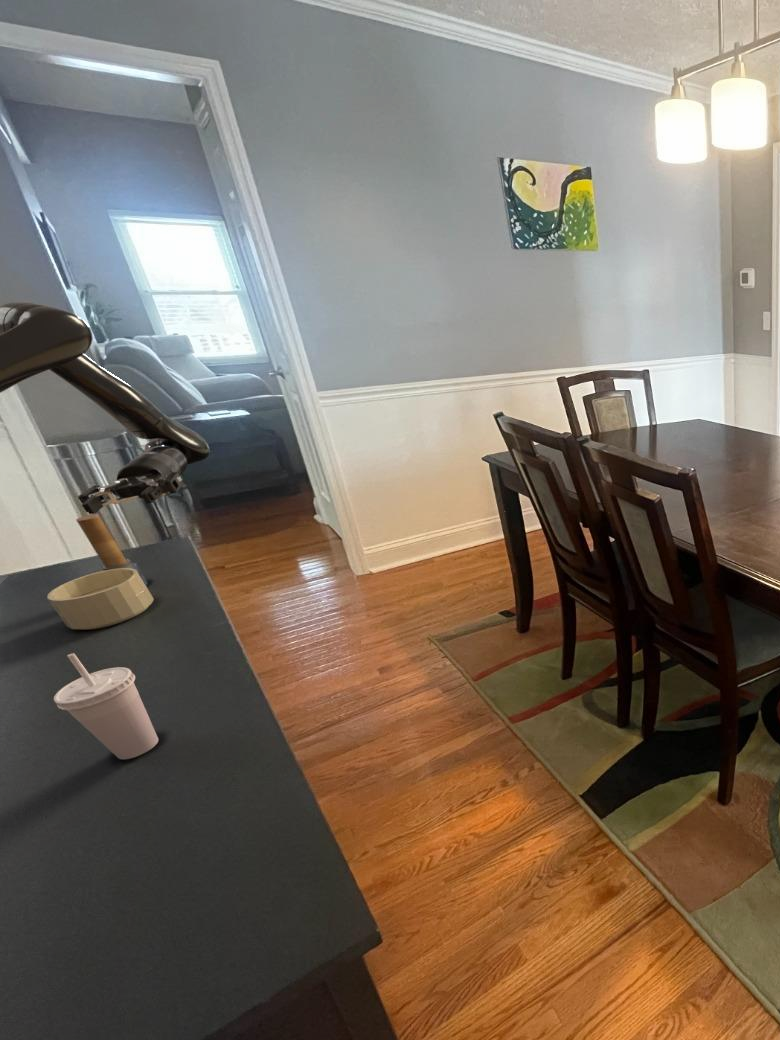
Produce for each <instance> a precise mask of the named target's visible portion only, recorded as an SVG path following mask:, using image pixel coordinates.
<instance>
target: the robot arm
mask: <svg viewBox="0 0 780 1040" xmlns="http://www.w3.org/2000/svg"><path fill="white" fill-rule="evenodd" d="M92 343H93V332H92V329H91V327H90V326H89V324H88V323H87V322H86V321H85V320H84V319H82V318H81V317H79V316H78V315H76V314H74V313H72V312H69V311H68V310H64V309H61V308H57V307H53V306H48V305H43V304H38V303H33V302H23V301H13V302H6V303H4V304H1V305H0V394H1V393H3V392H5V391H6V390H8V389H10V388H12V387H13V386H15V385H18V384H19V383H21V382H23V381H25V380H27V379H29V378H32V377H34V376H36V375H39V374H41V373H44V372H47V371H50V372H52V373H53V374H55V375H56V376H58V377H59V378H61V379H62V380H63V381H65V382H66V383H68V384H69V385H71V386H72V387H74V388H75V389H76V390H77V391H78V392H80V393H81V394H82V395H83V396H86V397H87V399H89V400H91V401H92V402H93V403H95V404H96V405H97V406H98V407H99V408H101V410H102V411H104V412H105V413H107V414H108V415H109V416H110V417H111V418H113V419H114V420H115V421H116V422H117V423H119V425H121V426H122V427H123V428H124V429H126V430H127V431H128V432H129V433H130V434H132V435H133V436H134V437H136V438H139V439H142V440H150V441H148V442H146V444H145V445H144V451H143V453H142V454H140V455H138V456H135V457H134V458H133V459H132V460H130V461H129V462H128V463H126V464H125V465H124V466H123V467H121V468H120V469H119V470H118V472H117V475H116V480H115V481H114V482H113V483H110V484H107V485H104V486H101V485H100V484H97V485H96V484H94V485H93V486H91V487H89V488H88V489H86V490H84V492H81V493H80V494H79V495H78V496H77V498H78V500H79V501H80V503H81V507H82V508H83V509H84V511H85V512H86V513H88V515H91V514H97V513H98V512H99V511H100V510H101V509H103V508H104V507H105V506H107V505H118V504H120V503H123V502H125V501H128V500H134V499H136V498H139V499H143V501H144V502H145V503H146V504H147V505H148V504H152V503H153V504H154V502H156V501H157V500H158V498H161V497H164V496H166V493H169V494H177V493H178V492H179V491H180V489H181V488H182V487H183V485H184V484H185V482H184V481H183V479H182V477H181V475H183V473H185V471H186V470H187V468H188V466H189V465H191V464H192V465H193V464H195V463H198V462H201V461H204V460H206V459H208V457H209V455H210V446H209V444H208V443H207V441H206V439H205V438H203V437H202V436H201V435H200V434H199V433H197V432H196V431H194V430H193V429H191V428H189V427H187V426H185V425H183V424H181V423H179V422H178V421H177V420H174V419H173V418H171V417H169V416H167V415H166V414H165V413H164V412H162V411H161V410H160V409H159V408H158V407H157V406H156V405H154V404H153V403H152V402H151V401H150V400H149V398H147V397H146V396H145V395H144V394H142V393H141V392H139V391H138V390H136V388H134V387H132V386H131V385H129V384H128V383H126V382H125V381H123V380H122V379H120V378H119V377H117V376H115V375H114V374H112V373H111V372H109V371H107V369H105V368H103V367H101V366H100V365H99V364H98V363H96V362H95V361H93V360H92V359H91V358H90V357H88V356H87V355H86V353H87V352H88V351H89V350H90V348H91V347H92ZM115 496H116V497H118V498H116V497H115Z"/></svg>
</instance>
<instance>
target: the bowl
mask: <svg viewBox="0 0 780 1040" xmlns="http://www.w3.org/2000/svg"><path fill="white" fill-rule="evenodd" d="M46 596H47V597H46V598H47V600H48V601H49V603H50V605H51V606H52V608H53V609H54V610H55V612H56V613H57V615H58V616H59V617H60V620H61V621H63V623H64V625H65V626H66V628H69V629H71V630H82V631H87V630H98V629H103V628H106V627H107V628H108V627H110V626H113V625H117V624H120V623H122V622H125V621H128V620H130V619H132V618H134V617H136V616H138V615H140V614H142V613H143V612H145V611H146V610H147V609H148V608H149V606H151V605H152V604H153V602H154V600H155V599H154V596H153V594H152V593H151V591H150V590H149V588H148V587H147V585H145V583H144V581H143V580H142V578H141V576H140V575H139V573H138V571H137V570H136V569H132V568H119V569H111V570H106V571H104V570H101V571H97V572H93V573H90V574H86V575H83V576H80V577H77V578H75V579H72V580H70V581H67V582H65V583H63V584H61V585H59V586H57V587H55V588H53V589H51V590H50V592H49V593H48V594H47V595H46Z"/></svg>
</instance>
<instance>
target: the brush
mask: <svg viewBox="0 0 780 1040" xmlns="http://www.w3.org/2000/svg"><path fill="white" fill-rule="evenodd" d="M75 521H76V522H77V524H78V526H79V527H80V529H81V531H82V532H83V534H84V535H85V537H86V538H87V540H88V542H89V544H90V545H91V546H92V548H93V550H94V551H95V553H96V554H97V556H98V558H99V559H100V561H101V563H102V565H103V566H102V567H101V568H102V571H106V570H111V569H119V568H132V569H136V570H137V571H138V573H139V575H140V576H141V578H142V580H143V581H144V583H145V585H146V586H147V585H148V581H147V580H146V578H145V576H144V574H143V573H142V570H141V569H140V567H139V566H138V564H137V563H136V562H131V559H128V558H126V557H125V556H124V554H123V553H122V550H121V549H120V547H119V545H118V544H117V542H116V541H115V539H114V538H113V536H112V534H111V532H110V531H109V529H108V527H107V526H106V524H105V523H104V521H103V519H102V517H101V515H100V514H98V513H93V514H87V515H83V516H80V517H78V518H76V519H75Z"/></svg>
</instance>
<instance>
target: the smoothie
mask: <svg viewBox="0 0 780 1040" xmlns="http://www.w3.org/2000/svg"><path fill="white" fill-rule="evenodd" d="M66 657H67V658H68V660H69V661H70V663H72V665H73V667H74V668H75V670H77V672H78V673H79V674H80V676H81V677H79V678H77V679H75V680H73V681H71V682H70V683H68V684H65V686H63V687H62V688H61V689H59V690H58V691H57V692H56V693H55V695H54V696H53V702H54V703H55V704H56V706H57V708H58V709H60V710H62V711H66V712H68V713H69V714H70V715H71V716H72V717H73V718H74V719H75V720H77V722H79V723H80V724H81V725H82V726H83V727H84V729H86V730H87V731H88V732H89V733H90V734H92V735H93V736H94V737H95V738H96V739H97V741H99V742H100V743H101V744H102V745H103V746H105V748H106V749H108V750H109V751H110V752H111V753H112V754H113V755H115V757H116V758H117V759H119V760H130V759H133V758H136V757H139V756H141V755H144V754H145V753H147V752H149V751H150V750H152V749H153V748H154V747H156V745H157V744H158V743H159V736H158V734H157V733H156V730H155V728H154V725H153V723H152V721H151V719H150V716H149V713H148V711H147V710H146V707H145V705H144V703H143V700H142V698H141V696H140V694H139V690H138V689H137V687H136V684H135V680H136V675H135V674H134V673H133V671H132V670H131V669H130V668H128V667H123V666H122V667H121V666H120V667H119V666H117V667H110V668H105V669H101V670H98V671H94V672H91V673H89V672H88V670H87V669H86V668H85V666H84V665H83V664H82V662H81V661H80V659H79V658H78V656H77V655H76V654H75V652H73V653H69V654H67V656H66Z"/></svg>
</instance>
